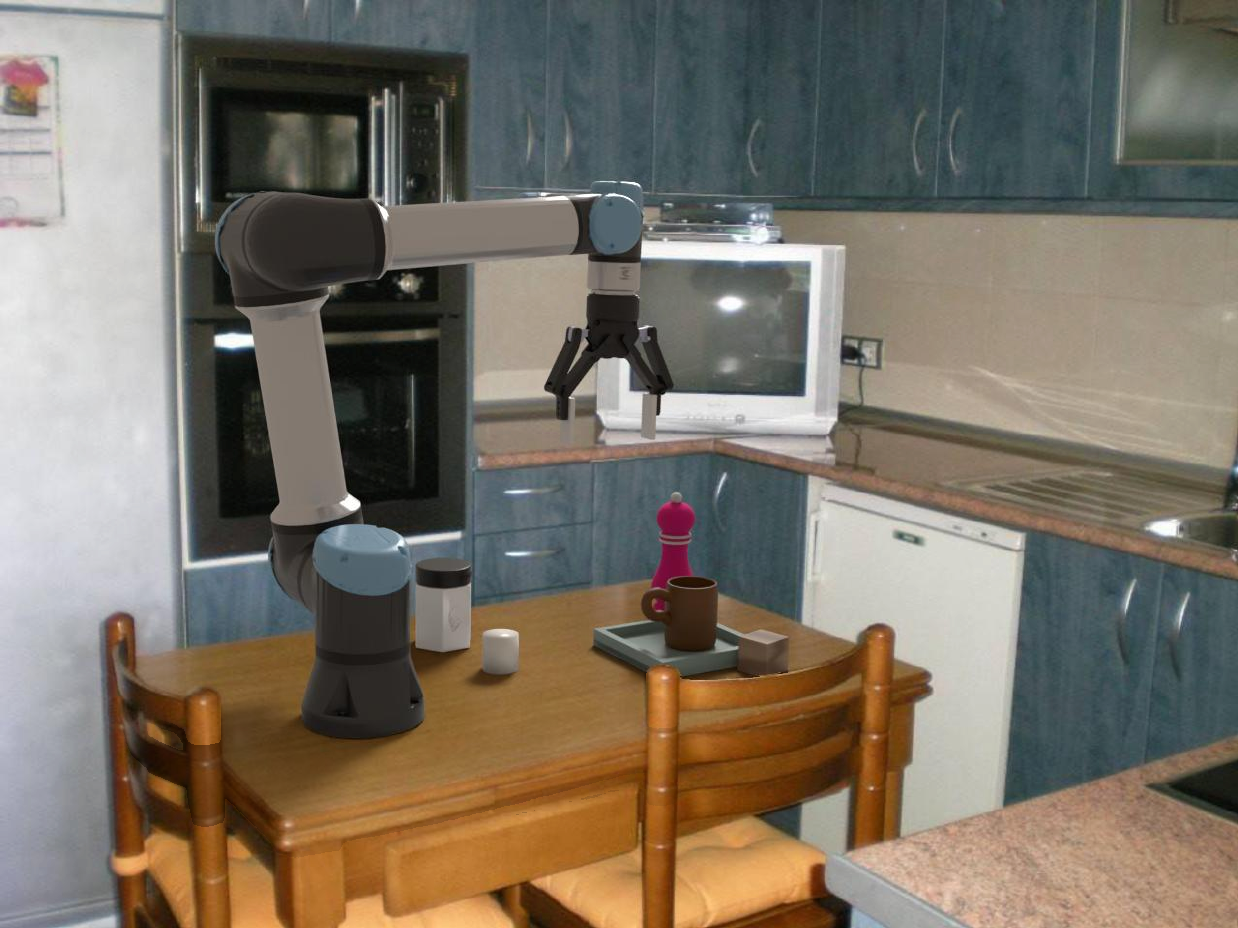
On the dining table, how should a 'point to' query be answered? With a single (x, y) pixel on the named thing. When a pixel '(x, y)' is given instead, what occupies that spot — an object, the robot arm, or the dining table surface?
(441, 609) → the jar
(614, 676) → the dining table surface
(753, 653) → the block
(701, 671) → the tray
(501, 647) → the white rounded cylinder
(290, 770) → the dining table surface
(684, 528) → the pepper mill
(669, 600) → the mug
